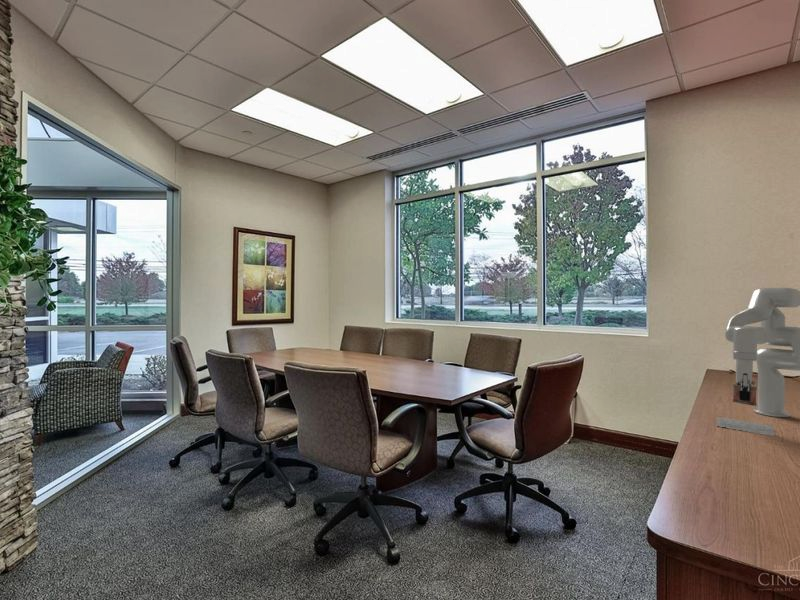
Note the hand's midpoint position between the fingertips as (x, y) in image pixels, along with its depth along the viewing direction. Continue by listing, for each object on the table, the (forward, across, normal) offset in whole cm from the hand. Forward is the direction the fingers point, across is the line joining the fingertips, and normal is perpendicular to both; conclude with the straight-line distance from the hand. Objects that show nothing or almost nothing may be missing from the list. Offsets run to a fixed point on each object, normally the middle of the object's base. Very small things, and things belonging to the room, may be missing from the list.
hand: (744, 399), depth 168 cm
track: (+12, 0, 0) cm, 12 cm away
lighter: (+2, 0, 0) cm, 2 cm away
